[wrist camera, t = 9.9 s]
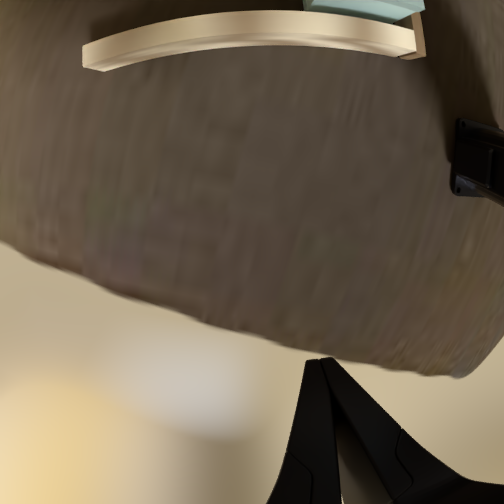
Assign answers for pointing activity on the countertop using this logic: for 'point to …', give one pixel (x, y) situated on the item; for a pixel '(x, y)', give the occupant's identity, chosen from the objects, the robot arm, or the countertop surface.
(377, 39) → the lane
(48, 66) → the countertop surface
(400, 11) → the pale teal block
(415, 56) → the front stop
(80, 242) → the countertop surface
